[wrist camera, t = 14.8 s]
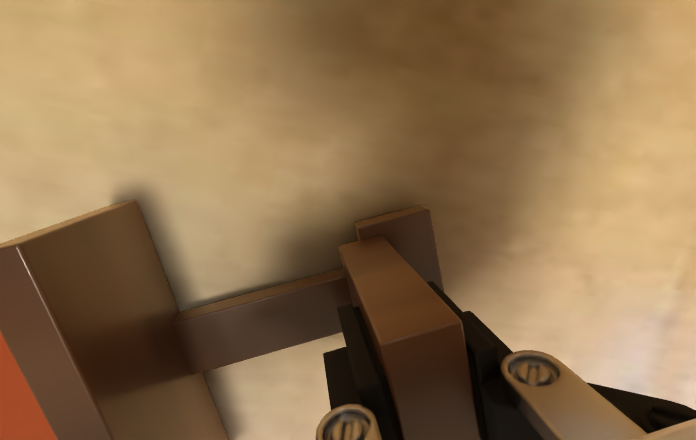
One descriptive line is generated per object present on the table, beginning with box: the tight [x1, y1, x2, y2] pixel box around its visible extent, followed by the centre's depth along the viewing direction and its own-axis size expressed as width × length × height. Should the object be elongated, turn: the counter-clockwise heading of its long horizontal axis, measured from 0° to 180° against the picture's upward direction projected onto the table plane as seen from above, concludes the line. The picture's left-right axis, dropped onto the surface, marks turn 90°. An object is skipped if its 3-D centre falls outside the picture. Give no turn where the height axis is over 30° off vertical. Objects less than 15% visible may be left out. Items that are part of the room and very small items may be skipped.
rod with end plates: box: [0, 200, 481, 440], centre depth 11 cm, size 12×12×8 cm
